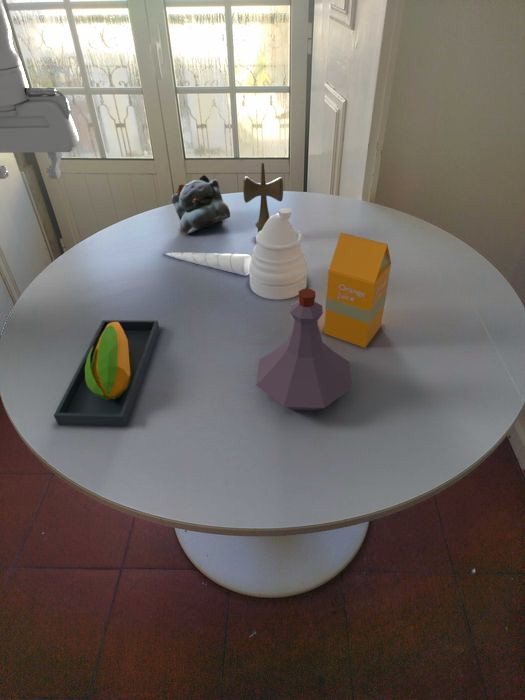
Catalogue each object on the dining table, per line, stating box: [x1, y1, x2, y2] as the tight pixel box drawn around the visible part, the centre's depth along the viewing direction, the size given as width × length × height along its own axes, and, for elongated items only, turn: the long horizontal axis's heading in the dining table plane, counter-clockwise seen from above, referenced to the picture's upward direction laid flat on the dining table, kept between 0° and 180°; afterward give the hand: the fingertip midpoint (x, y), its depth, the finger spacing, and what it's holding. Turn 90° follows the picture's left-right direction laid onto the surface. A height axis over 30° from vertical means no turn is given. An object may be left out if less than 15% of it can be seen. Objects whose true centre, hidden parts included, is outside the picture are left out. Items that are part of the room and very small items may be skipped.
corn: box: [85, 322, 132, 400], centre depth 82 cm, size 7×8×20 cm
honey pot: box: [248, 207, 308, 300], centre depth 100 cm, size 13×13×18 cm
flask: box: [256, 288, 353, 411], centre depth 74 cm, size 16×16×20 cm
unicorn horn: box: [165, 251, 252, 277], centre depth 113 cm, size 5×24×5 cm, turn 61°
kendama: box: [242, 162, 284, 242], centre depth 116 cm, size 6×10×20 cm, turn 87°
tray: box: [53, 319, 161, 428], centre depth 84 cm, size 11×25×3 cm, turn 177°
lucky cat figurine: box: [170, 174, 231, 235], centre depth 127 cm, size 15×12×14 cm
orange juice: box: [323, 232, 392, 349], centre depth 86 cm, size 8×9×20 cm
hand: (29, 177), depth 81 cm, fingers open, 8 cm apart
